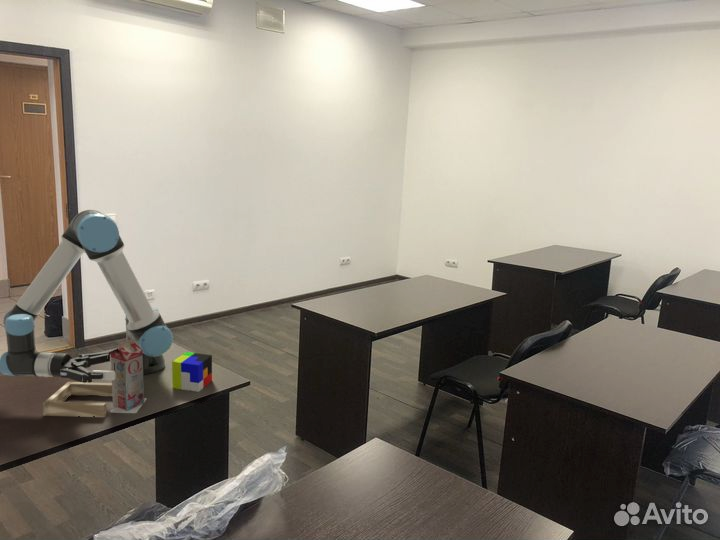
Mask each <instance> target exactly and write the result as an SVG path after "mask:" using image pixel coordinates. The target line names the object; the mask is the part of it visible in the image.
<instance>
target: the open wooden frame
mask: <svg viewBox="0 0 720 540" xmlns="http://www.w3.org/2000/svg"><path fill="white" fill-rule="evenodd" d="M87 395H99V396H100V397H113V396H112V382H91V383H88V381H87V382H86V383H83V382H79V381H67V382H66V383H65V384H64V385H63V386H61V387H60V388H59V389H58V390H56V392H54V393H53V394H52V395H50V397H48V398H47V399H46V400H45V401H44V402H43V403H42V412H43V417H45V416H46V417H50V416H51V417H78V416H80V417H81V418H82V417H83V418H85V417H86V418H105V417H106V416H107V403H106V402H86V401H85V402H80V401H78V402H77V401H75V402H74V401H66V400H68V399H69V398H70V397H71V396H87ZM69 396H70V397H69ZM99 396H98V397H99ZM68 397H69V398H68ZM67 398H68V399H67ZM93 416H95V417H93Z"/></svg>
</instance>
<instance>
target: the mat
mask: <svg viewBox="0 0 720 540" xmlns="http://www.w3.org/2000/svg"><path fill="white" fill-rule="evenodd" d="M146 401H147V397H144V403H145V402H146ZM143 405H144V404H142V405H139V406H137V407H135V408H133V409H131V410H129V411H125V410H122V409H120V408H117V407H114V406H113V408H112V409H111V410H110V411H109V412H110V413H113V414H114V413H116V414H119V413H120V414H137V412H139V410H140V409H141V407H142V406H143Z"/></svg>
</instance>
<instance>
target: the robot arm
mask: <svg viewBox="0 0 720 540" xmlns="http://www.w3.org/2000/svg"><path fill="white" fill-rule="evenodd" d="M60 238H61V241H60V243H59V245H58V246H57V247H56V249H55V250H54V252H53V253H52V254H51V255H50V256H49V258H48V259H47V261H46V262H45V264H44V265H43V267H42V268H41V269H40V271H39V272H38V273H37V275H36V276H35V277H34V279H32V282H31V283H30V284H29V285H28V287H27V288H26V290H25V291H24V292H23V293H22V295H21V297H19V299H18V300H17V302H16V303H15V305H14V306H13V307H12V309H10V310H8V311H7V312H6V313H5V315H4V317H3V320H2V321H3V325H4V326H3V327H4V330H5V335H6V337H5V338H6V345H7V351H5V352H4V353H2V354H1V356H0V373H1V374H3V375H4V376H13V377H44V378H45V379H46V378H48V377H49V378H50V377H51V378H52V377H53V378H64V379H69V380H73V381H75V382H83V383H86V382H88V383H93V380H97V381H98V380H101V381H112V380H115V371H111V370H99V369H98V370H96V369H94V370H92V371H91V370H90V369H87V368H90V367H91V366H94V365H98V364H103V363H110V364H111V353H110V352H111V351H112V350H111V351H110V350H108V351H102V352H93V353H85V354H84V353H79V354H78V357H75V358H74V357H72V356H71V354H69V353H68V352H67V353H65V352H38V351H36V349H37V348H36V337H35V336H36V334H35V332H36V331H35V327H36V326H35V325H36V324H35V320H36V319H37V318H38V316H39V315H40V313H41V312H42V310H43V309H44V308H45V306H46V305H47V303H49V301H50V299H51V298H52V297H53V295H54V294H55V292H56V291H57V290H58V288H59V287H60V285H62V283H63V282H64V280H65V279H66V277H67V276H68V275H69V273H70V272H71V271H72V269H73V268H74V267H75V265H77V263H78V261H79V260H80V258H81V257H82V256H83V254H86V256H87V258H88V260H90V261H92V262H95V263H96V264H97V266H98V267H99V269H100V271H101V273H102V274H103V276H104V278H105V280H106V282H107V284H108V285H109V287H110V289H111V291H112V293H113V295H114V296H115V298H116V300H117V302H118V304H119V306H120V307H121V309H122V310H123V313H124V314H125V319H124V320H125V332H126V333H125V334H126V337H125V338H126V341H127V340H130V339H133V338H135V343H136V344H137V345H138V346H139V347H140V348H141V349H142V355H143V375H148V374H154V373H157V372H160V371H161V370H162V369H164V368H165V366H166V360H165V357H164V354H166V353H167V352H168V351H169V350H170V349H171V347H172V345H173V342H174V337H173V336H174V335H173V332H172V331H171V329H170V328H169V327H168V326H167V325H166V323H165V321H164V318H163V317H162V315H161V313H160V312H159V310H158V309H157V308H155V307H152V305H151V304H150V302H149V299H148V298H147V296H146V294H145V291H144V289H143V288H142V286H141V284H140V282H139V281H138V279H137V277H136V275H135V273H134V271H133V270H132V269H133V268H132V267H131V266H130V263H129V262H128V259H127V258H126V256H125V254H124V251H123V249H124V247H125V243H124V241H123V239H122V238H121V236H120V231H119V227H118V226H117V223H116V222H115V220H113V219H112V218H111V217H109V216H108V215H106V214H104V213H103V212H101V211H98V210H95V209H86V210H82V211H80V212H78V213H77V214H76V215H75V216H74V217H73V218H72V220H71V222H70V223H69V225H68V226H67V228H66V229H65V230H64V232H63V233H62V235H61V237H60Z"/></svg>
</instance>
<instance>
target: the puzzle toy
mask: <svg viewBox="0 0 720 540" xmlns="http://www.w3.org/2000/svg"><path fill="white" fill-rule="evenodd" d="M171 362H172V364H171V366H172V370H171V371H172V373H171V374H172V389H179V390H183V391H190V390H191V391H192V392H197V393H199V392H200V391H202V390H203V389H204V388H205V387H206V386H207V385H209V384H210V383H211V382H212V381H213V355H212V354H205V353H197V352H191V351H190V352H189V351H185V352H184V353H183V354H182V355H180V356H179V357H177V358H175V359H173V361H171ZM208 383H209V384H208Z"/></svg>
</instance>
